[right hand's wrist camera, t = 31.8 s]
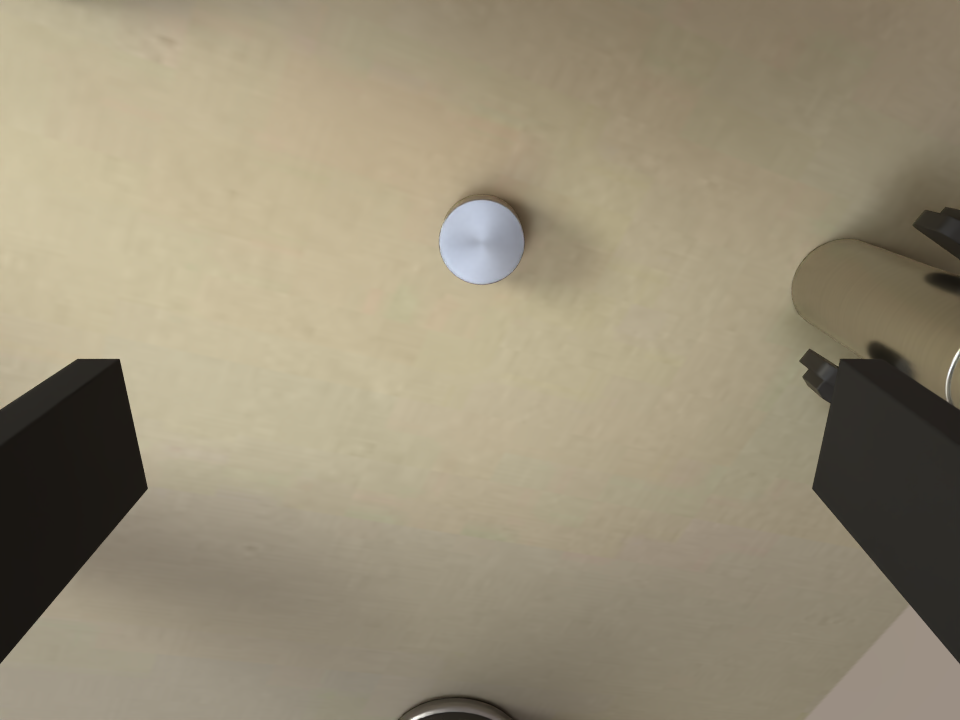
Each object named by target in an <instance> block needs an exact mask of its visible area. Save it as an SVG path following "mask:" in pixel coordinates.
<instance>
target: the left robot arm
mask: <svg viewBox="0 0 960 720" xmlns="http://www.w3.org/2000/svg"><path fill="white" fill-rule="evenodd" d="M913 226H914V227H915V228H916V229H918V230H919V231H920V232H922V233H923V234H925V235H926V236H927V237H929V238H930V239H932V240H933V241H934V242H936V243H937V244H939V245H940V246H941V247H943V248H944V249H946V250H947V251H948V252H950V253H951V254H953V255H954V256H955V257H957V258H958V259H960V210H959V209H953V208H948V207H945V208H944V209H943V211H942V212H941V213H936V212H932V211H928V210H925V211H924V212H923V213H922V214H921V215H920V216H919V218H918V219H917V220H916V221H915V222H914V224H913ZM800 362H801V363H802V364H803V365H805V366H806V367H807V368H808V369H809V370H808V371H807V372H806V373H805V374H804V375H803V379H804V380H805V382H806V383H807V385H808V386H809V387H810V388H811V389H812V390H813V391H815V392H816V393H817V394H818V395H819V396H820V397H822V398H823V399H824V400H826V401H828V402H829V403H831V400H832V395H833V391H834V386H835V381H836V377H837V372H838V368H839V367H838V366H836V365H834V364H833V363H831V362H830V361H828V360H827V359H825V358H823V357H822V356H820V355H819V354H817V353H816V352H814V351H813V350H811V349H809V350H808V351H807V352H806V353H805V355H804V356H803V357H802V358H801V359H800ZM399 720H512V719H511V718H510V717H509V716H508V715H506V714H505V713H504V712H502V711H501V710H499V709H497V708H495V707H493V706H491V705H489V704H486V703H483V702H480V701H476V700H471V699H464V698H446V699H439V700H434V701H430V702H427V703H424V704H422V705H419V706H417V707H415V708H413V709H412V710H410V711H409V712H407V713H406V714H405V715H403V716H402V717H401V718H400V719H399Z"/></svg>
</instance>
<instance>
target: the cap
mask: <svg viewBox="0 0 960 720" xmlns="http://www.w3.org/2000/svg"><path fill="white" fill-rule="evenodd" d="M524 246H525V239H524V232H523V228H522V225H521V222H520V220H519V217H518V216H517V214H516V212H515V211H514V210H513V208H512V207H511V206H510V205H509V204H507V203H506V202H505V201H503V200H501V199H500V198H497V197H495V196H491V195H485V194H479V195H473V196H469V197H466V198H464V199H462V200H461V201H459V202H458V203H456V204H455V205H454V206H453V207H452V208H451V209H450V211H449V212H448V213H447V215H446V217H445V219H444V222H443V224H442V227H441V231H440V235H439V248H440V253H441V256H442V259H443V261H444V263H445V264H446V266H447V267H448V269H449V270H450V271H451V272H452V273H453V274H454V275H455V276H457V277H458V278H460V279H462V280H463V281H466V282H468V283H472V284H478V285H485V284H492V283H495V282H498V281H500V280H502V279H504V278H506V277H507V276H508V275H510V274H511V273H512V272H513V271H514V269H515V268H516V267H517V266H518V264H519V262H520V260H521V258H522V255H523V252H524Z"/></svg>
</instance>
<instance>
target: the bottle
mask: <svg viewBox="0 0 960 720" xmlns="http://www.w3.org/2000/svg"><path fill="white" fill-rule="evenodd" d="M792 300H793V303H794V306H795V308H796V310H797V312H798V313H799V315H800V316H801V317H802V318H803V319H805V320H806V321H807V322H809V323H810V324H812V325H813V326H815V327H816V328H818V329H819V330H821V331H822V332H824V333H825V334H827V335H828V336H830V337H831V338H833V339H834V340H836V341H837V342H839V343H840V344H842V345H843V346H845V347H846V348H848V349H849V350H851V351H852V352H854V353H855V354H857V355H858V356H860V357H861V358H863V359H883V360H885V361H886V362H888V363H889V364H891V365H892V366H894V367H895V368H897V369H898V370H900V371H901V372H903V373H904V374H906V375H908V376H909V377H911V378H912V379H914V380H915V381H917V382H918V383H920V384H921V385H923V386H924V387H926V388H927V389H929V390H930V391H932V392H933V393H935V394H936V395H938V396H939V397H941V398H943V399H944V400H946V401H947V402H949V403H950V404H952V405H953V406H955V407H956V408H958V409H959V410H960V276H958V275H955V274H952V273H949V272H946V271H944V270H941V269H938V268H935V267H933V266H930V265H927V264H924V263H921V262H919V261H916V260H913V259H910V258H907V257H905V256H902V255H899V254H896V253H894V252H891V251H888V250H885V249H882V248H880V247H877V246H874V245H871V244H868V243H866V242H863V241H860V240H856V239H838V240H834V241H831V242H828V243H825V244H823V245H822V246H820V247H818V248H817V249H815V250H814V251H812V252H811V253H810V254H809V255H808V256H807V257H806V258H805V259H804V260H803V262H802V263H801V264H800V266H799V268H798V269H797V271H796V274H795V276H794V279H793V283H792Z"/></svg>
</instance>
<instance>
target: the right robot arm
mask: <svg viewBox="0 0 960 720" xmlns="http://www.w3.org/2000/svg"><path fill="white" fill-rule="evenodd" d="M147 489H148V487H147V483H146V478H145V473H144V469H143V464H142V460H141V455H140V450H139V446H138V441H137V437H136V432H135V427H134V423H133V418H132V414H131V409H130V404H129V400H128V395H127V391H126V386H125V381H124V377H123V372H122V368H121V363H120V359H77V360H75V361H74V362H72V363H71V364H69V365H68V366H66V367H65V368H63V369H62V370H60V371H59V372H57V373H56V374H54V375H52V376H51V377H49V378H48V379H46V380H45V381H43V382H42V383H40V384H39V385H37V386H36V387H34V388H33V389H31V390H30V391H28V392H27V393H25V394H24V395H22V396H21V397H19V398H17V399H16V400H14V401H13V402H11V403H10V404H8V405H7V406H5V407H4V408H2V409H1V410H0V663H1V662H2V661H3V660H4V659H5V658H6V656H7V655H8V654H9V653H10V652H11V650H12V649H13V648H14V647H15V646H16V644H17V643H18V642H19V641H20V640H21V639H22V637H23V636H24V635H25V634H26V633H27V631H28V630H29V629H30V628H31V627H32V625H33V624H34V623H35V622H36V621H37V620H38V618H39V617H40V616H41V615H42V614H43V612H44V611H45V610H46V609H47V608H48V606H49V605H50V604H51V603H52V602H53V601H54V599H55V598H56V597H57V596H58V595H59V593H60V592H61V591H62V590H63V589H64V587H65V586H66V585H67V584H68V583H69V582H70V580H71V579H72V578H73V577H74V576H75V574H76V573H77V572H78V571H79V570H80V569H81V567H82V566H83V565H84V564H85V563H86V561H87V560H88V559H89V558H90V557H91V555H92V554H93V553H94V552H95V551H96V550H97V548H98V547H99V546H100V545H101V544H102V542H103V541H104V540H105V539H106V538H107V536H108V535H109V534H110V533H111V532H112V531H113V529H114V528H115V527H116V526H117V525H118V523H119V522H120V521H121V520H122V519H123V517H124V516H125V515H126V514H127V513H128V512H129V510H130V509H131V508H132V507H133V506H134V504H135V503H136V502H137V501H138V500H139V498H140V497H141V496H142V495H143V494H144V493H145V491H146V490H147ZM812 489H813V490H814V491H815V493H816V494H817V495H818V496H819V497H820V499H821V500H822V501H823V502H824V503H825V504H826V506H827V507H828V508H829V509H830V510H831V512H832V513H833V514H834V515H835V516H836V517H837V519H838V520H839V521H840V522H841V523H842V525H843V526H844V527H845V528H846V529H847V531H848V532H849V533H850V534H851V535H852V536H853V538H854V539H855V540H856V541H857V542H858V544H859V545H860V546H861V547H862V548H863V550H864V551H865V552H866V553H867V554H868V555H869V557H870V558H871V559H872V560H873V561H874V563H875V564H876V565H877V566H878V567H879V569H880V570H881V571H882V572H883V573H884V574H885V576H886V577H887V578H888V579H889V580H890V582H891V583H892V584H893V585H894V586H895V588H896V589H897V590H898V591H899V592H900V593H901V595H902V596H903V597H904V598H905V599H906V601H907V602H908V603H909V604H910V605H911V606H912V608H913V609H914V610H915V611H916V612H917V614H918V615H919V616H920V617H921V618H922V620H923V621H924V622H925V623H926V624H927V625H928V627H929V628H930V629H931V630H932V631H933V633H934V634H935V635H936V636H937V637H938V638H939V640H940V641H941V642H942V643H943V644H944V646H945V647H946V648H947V649H948V650H949V652H950V653H951V654H952V655H953V656H954V658H955V659H956V660H957V661H958V662H959V663H960V410H959V409H958V408H956V407H955V406H953V405H952V404H950V403H949V402H947V401H946V400H944V399H943V398H941V397H939V396H938V395H936V394H935V393H933V392H932V391H930V390H929V389H927V388H926V387H924V386H923V385H921V384H920V383H918V382H917V381H915V380H914V379H912V378H911V377H909V376H908V375H906V374H904V373H903V372H901V371H900V370H898V369H897V368H895V367H894V366H892V365H891V364H889V363H888V362H886V361H885V360H883V359H840V363H839V368H838V372H837V377H836V381H835V386H834V391H833V395H832V400H831V404H830V409H829V414H828V418H827V423H826V427H825V432H824V437H823V441H822V446H821V450H820V455H819V460H818V464H817V469H816V473H815V478H814V483H813V487H812Z"/></svg>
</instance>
